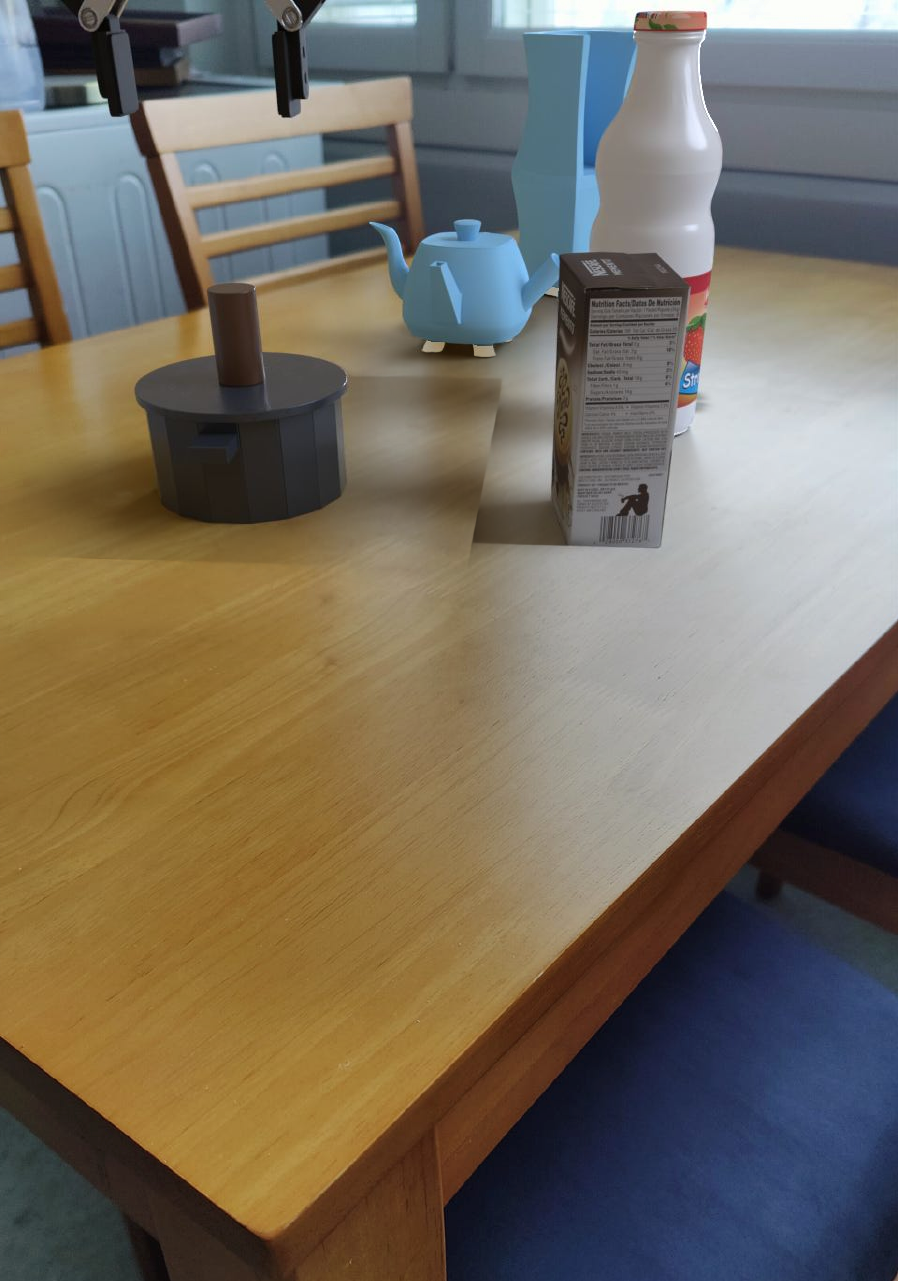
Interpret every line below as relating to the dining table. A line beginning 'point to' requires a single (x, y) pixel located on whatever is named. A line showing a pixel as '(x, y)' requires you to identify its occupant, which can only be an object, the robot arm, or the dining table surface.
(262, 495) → the pot
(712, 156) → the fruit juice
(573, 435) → the coffee box
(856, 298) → the dining table surface
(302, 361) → the lid
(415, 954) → the dining table surface
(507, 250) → the teapot
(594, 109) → the vase
